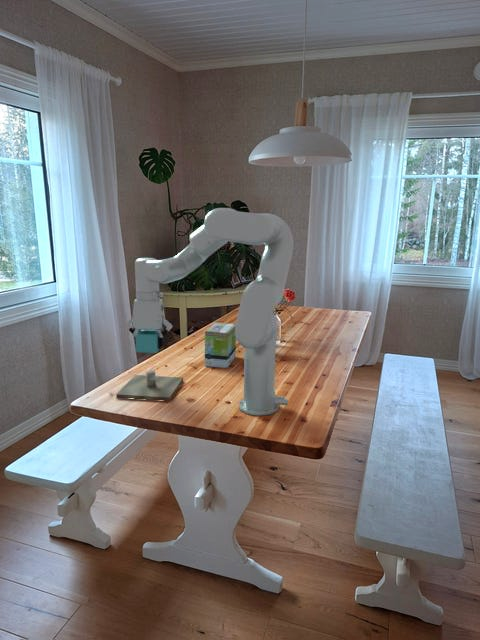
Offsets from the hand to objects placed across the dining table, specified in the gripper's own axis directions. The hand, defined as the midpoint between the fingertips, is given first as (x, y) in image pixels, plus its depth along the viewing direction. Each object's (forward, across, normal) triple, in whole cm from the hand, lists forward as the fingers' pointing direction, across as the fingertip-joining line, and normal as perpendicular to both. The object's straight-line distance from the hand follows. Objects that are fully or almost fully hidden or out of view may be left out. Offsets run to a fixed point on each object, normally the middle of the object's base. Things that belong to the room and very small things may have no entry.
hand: (149, 347), depth 152 cm
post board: (+15, 0, 0) cm, 15 cm away
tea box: (+16, -19, -33) cm, 41 cm away
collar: (+1, 0, 0) cm, 1 cm away
